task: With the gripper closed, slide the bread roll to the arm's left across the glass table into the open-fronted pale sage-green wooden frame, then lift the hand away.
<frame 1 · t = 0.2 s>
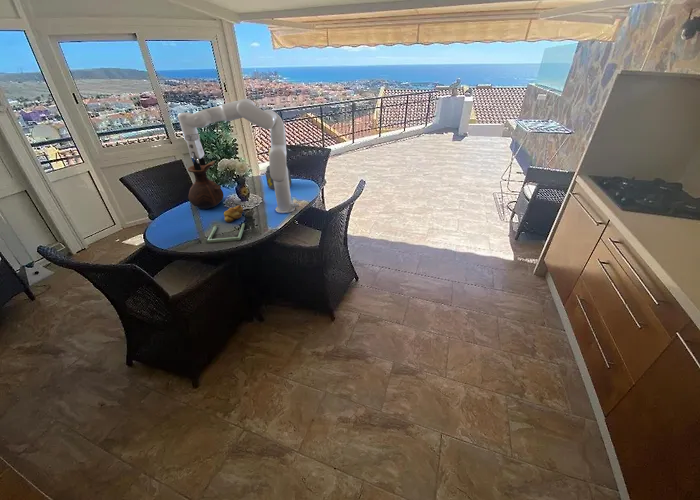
hand: (200, 167, 172), 31 cm above the table, tool pointing down, fingers open, 9 cm apart
decorative lamp: (280, 186, 230), on the table
bread roll: (233, 219, 184), on the table
frame: (227, 233, 169), on the table
jug: (209, 205, 202), on the table
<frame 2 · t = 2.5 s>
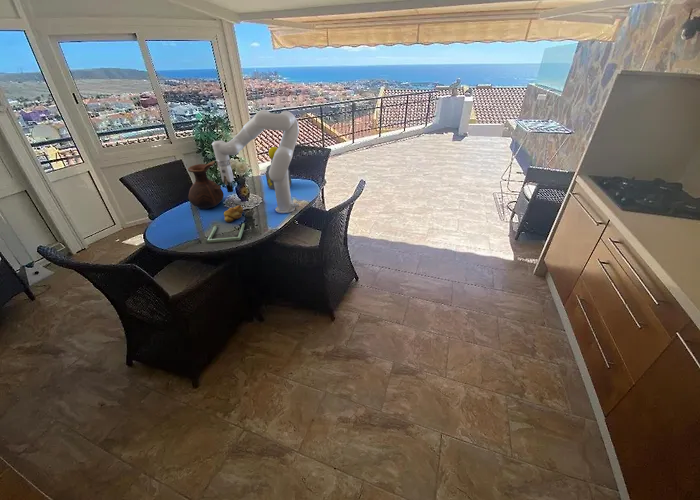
hand: (230, 191, 185), 14 cm above the table, tool pointing down, fingers closed
nothing on the table moved.
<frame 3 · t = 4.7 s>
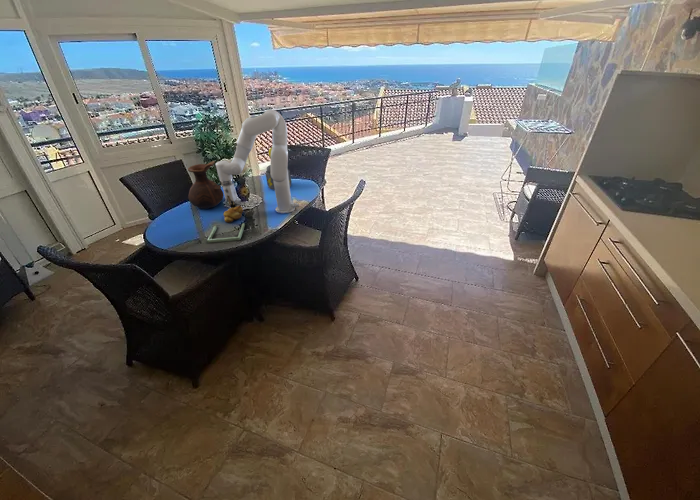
hand: (234, 209, 188), 3 cm above the table, tool pointing down, fingers closed
bread roll: (233, 219, 183), on the table, touching gripper
everything else where it was.
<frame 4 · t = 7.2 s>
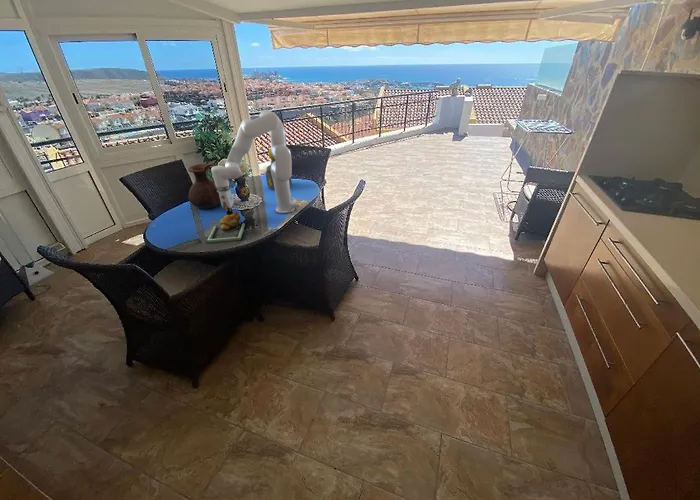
hand: (230, 216, 179), 3 cm above the table, tool pointing down, fingers closed
bread roll: (230, 227, 175), on the table, touching gripper
everything else where it was.
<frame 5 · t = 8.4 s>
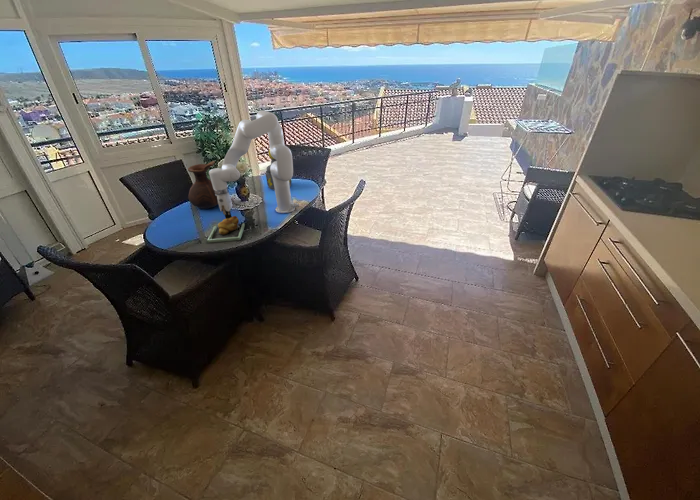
hand: (229, 219, 175), 3 cm above the table, tool pointing down, fingers closed
bread roll: (228, 230, 171), on the table, touching gripper
everything else where it was.
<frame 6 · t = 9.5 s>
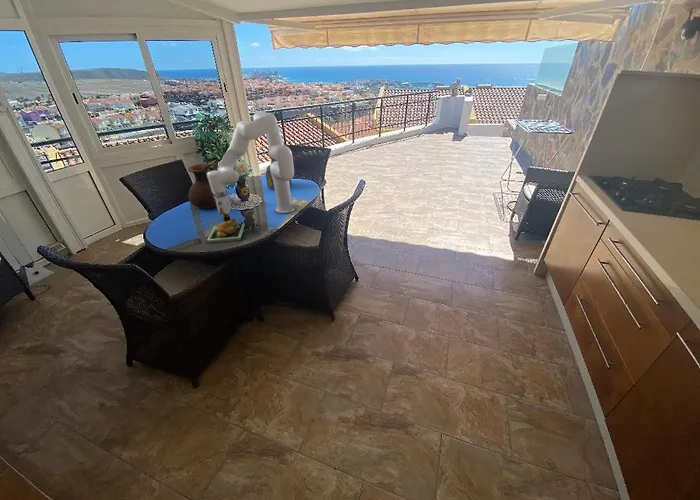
hand: (228, 222, 172), 3 cm above the table, tool pointing down, fingers closed
bread roll: (227, 234, 168), on the table, touching gripper
everything else where it was.
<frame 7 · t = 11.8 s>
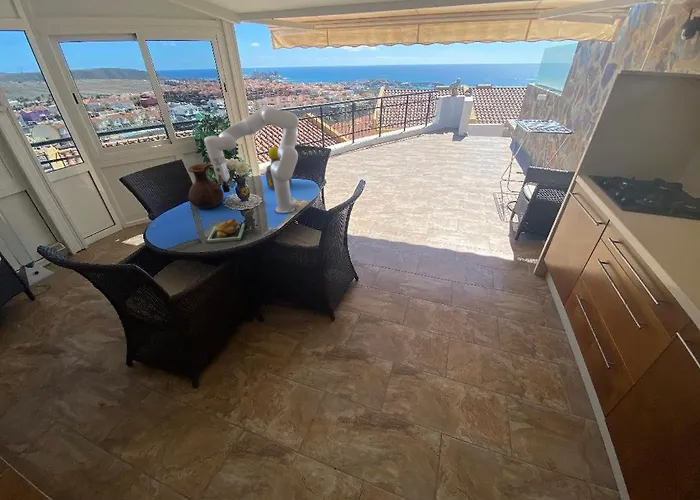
hand: (227, 191, 170), 19 cm above the table, tool pointing down, fingers closed
bread roll: (227, 234, 168), on the table
everything else where it was.
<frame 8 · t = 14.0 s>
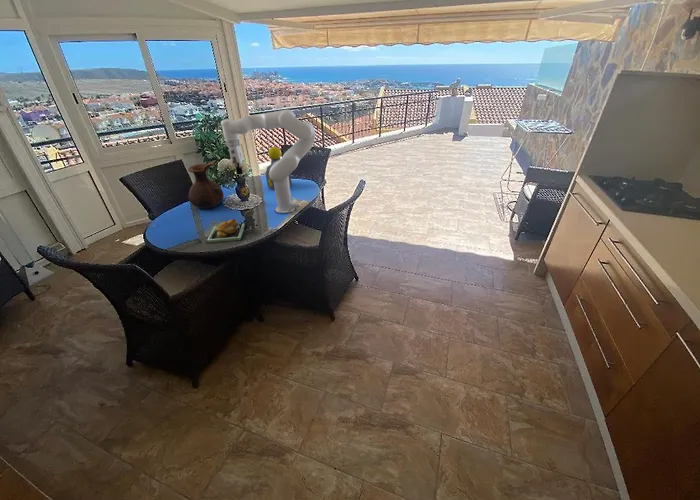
hand: (240, 173, 179), 25 cm above the table, tool pointing down, fingers closed
nothing on the table moved.
at the end: bread roll inside the target area on the frame (1.1 cm from its centre), point 0.0 cm above the frame's base; bread roll moved 18.9 cm from its start; the gripper is holding nothing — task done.
